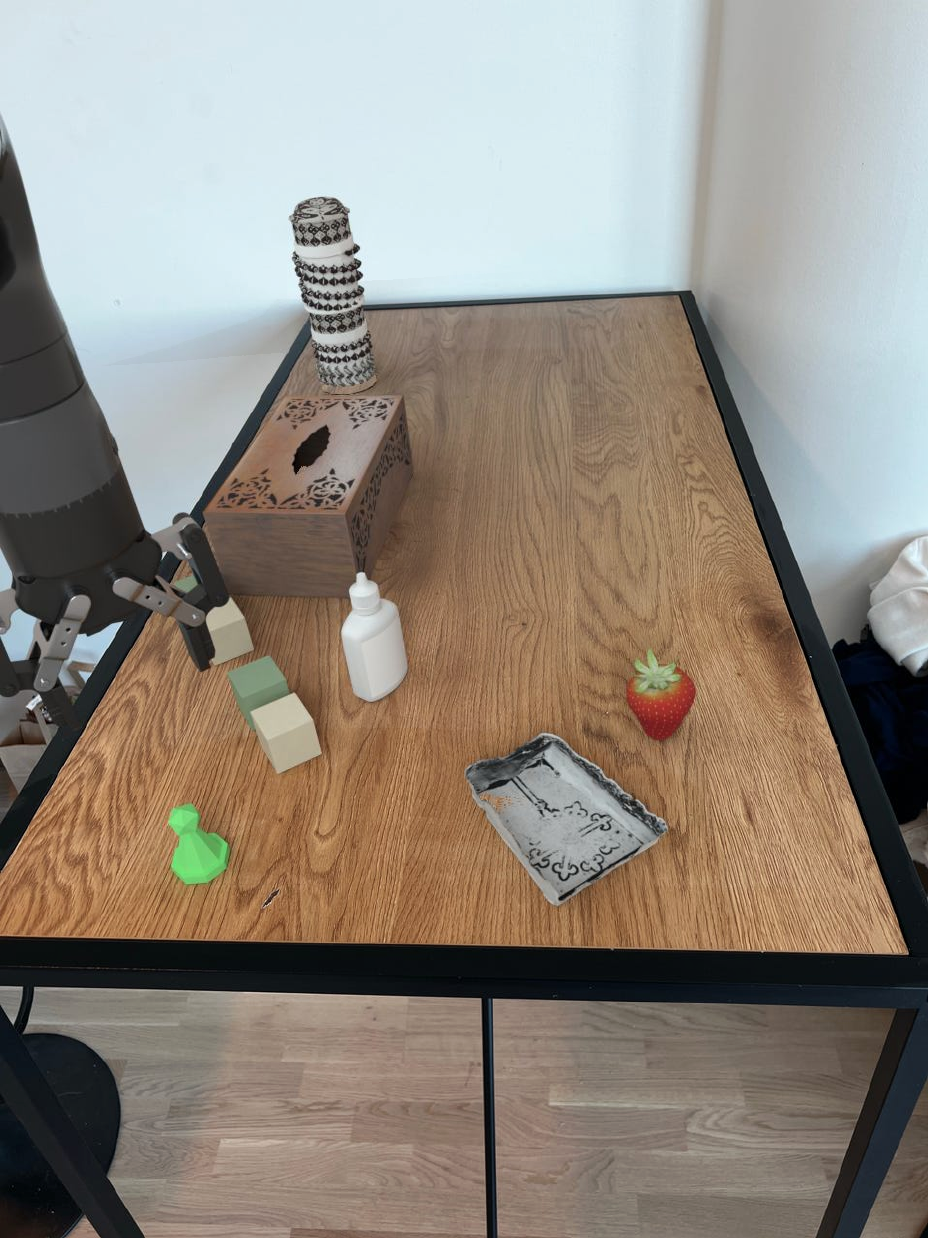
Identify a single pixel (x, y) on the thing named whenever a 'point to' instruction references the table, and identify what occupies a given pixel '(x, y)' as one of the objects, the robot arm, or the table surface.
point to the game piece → (196, 848)
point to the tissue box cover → (312, 496)
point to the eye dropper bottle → (373, 642)
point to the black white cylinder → (332, 291)
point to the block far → (186, 583)
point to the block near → (286, 732)
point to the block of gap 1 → (228, 632)
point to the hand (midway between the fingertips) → (138, 692)
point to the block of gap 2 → (257, 685)
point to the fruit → (660, 696)
